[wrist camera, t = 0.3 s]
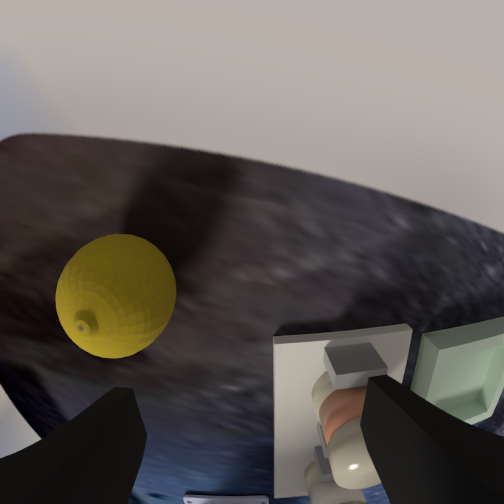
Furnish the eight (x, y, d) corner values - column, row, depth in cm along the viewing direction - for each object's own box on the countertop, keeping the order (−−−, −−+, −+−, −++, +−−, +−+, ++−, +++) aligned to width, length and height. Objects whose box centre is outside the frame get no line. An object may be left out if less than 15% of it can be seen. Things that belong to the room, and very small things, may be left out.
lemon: (157, 205, 17) (93, 226, 9) (205, 289, 18) (179, 363, 11) (86, 251, 18) (6, 294, 10) (132, 326, 19) (80, 402, 11)
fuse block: (367, 477, 23) (378, 507, 19) (273, 490, 23) (276, 523, 19) (406, 323, 19) (434, 351, 15) (273, 336, 19) (278, 372, 15)
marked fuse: (367, 408, 19) (401, 478, 13) (309, 416, 19) (329, 494, 13) (376, 359, 19) (421, 429, 12) (313, 367, 18) (339, 448, 12)
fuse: (349, 478, 21) (368, 539, 15) (302, 485, 21) (313, 549, 15) (357, 450, 20) (381, 516, 14) (305, 458, 20) (319, 529, 14)
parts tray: (478, 401, 21) (491, 416, 19) (399, 426, 21) (409, 445, 19) (505, 315, 19) (523, 327, 17) (422, 333, 19) (439, 350, 17)
